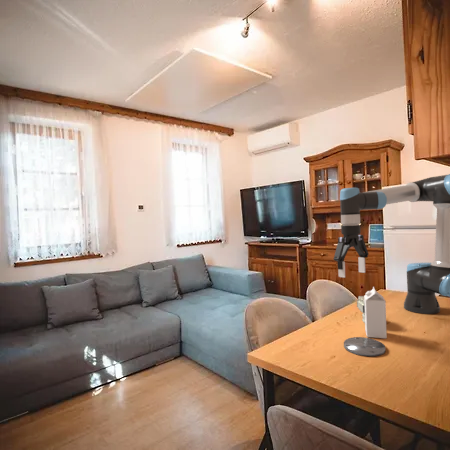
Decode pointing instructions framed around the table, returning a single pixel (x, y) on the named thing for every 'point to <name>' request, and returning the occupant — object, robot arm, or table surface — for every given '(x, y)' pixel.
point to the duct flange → (364, 346)
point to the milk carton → (375, 314)
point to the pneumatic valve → (361, 306)
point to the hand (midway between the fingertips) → (352, 274)
